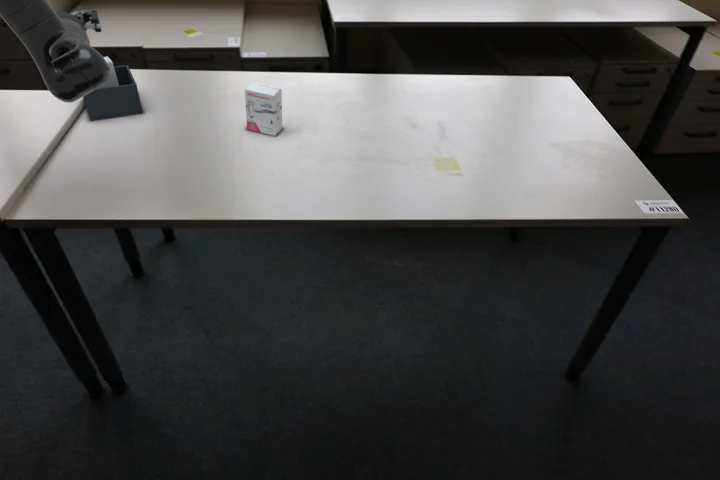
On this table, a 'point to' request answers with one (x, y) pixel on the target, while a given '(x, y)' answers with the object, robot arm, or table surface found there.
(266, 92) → the ink box
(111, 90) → the bin
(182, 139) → the table surface
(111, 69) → the cosmetic box
